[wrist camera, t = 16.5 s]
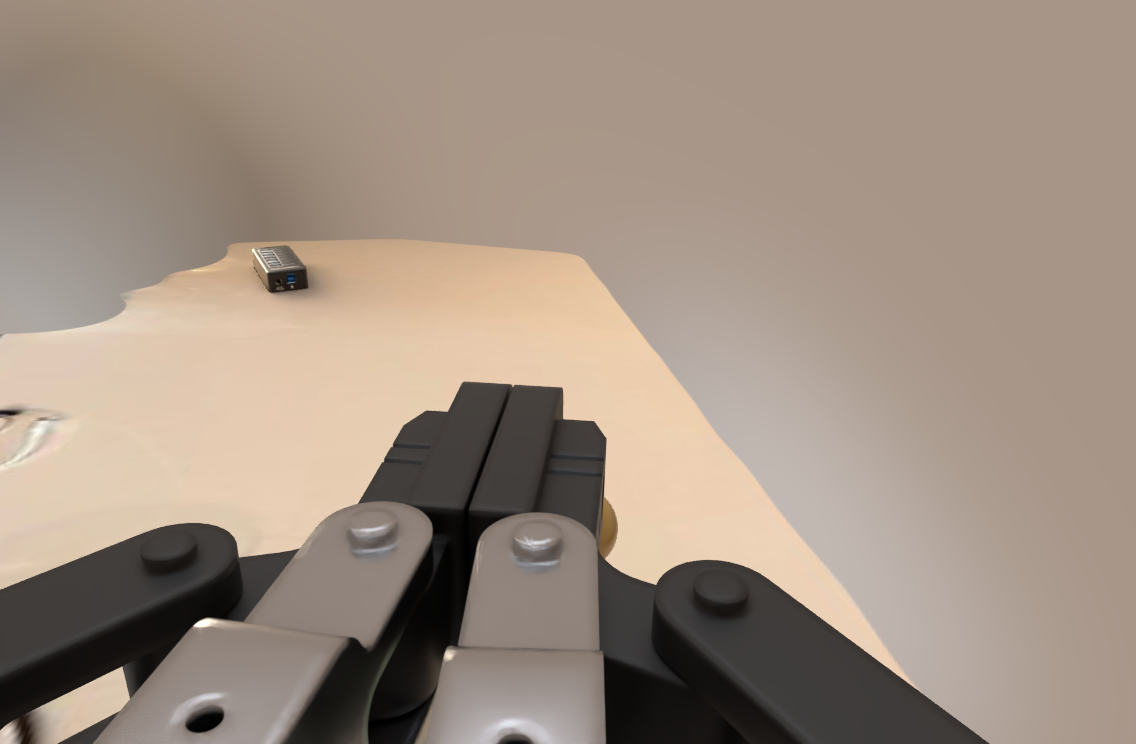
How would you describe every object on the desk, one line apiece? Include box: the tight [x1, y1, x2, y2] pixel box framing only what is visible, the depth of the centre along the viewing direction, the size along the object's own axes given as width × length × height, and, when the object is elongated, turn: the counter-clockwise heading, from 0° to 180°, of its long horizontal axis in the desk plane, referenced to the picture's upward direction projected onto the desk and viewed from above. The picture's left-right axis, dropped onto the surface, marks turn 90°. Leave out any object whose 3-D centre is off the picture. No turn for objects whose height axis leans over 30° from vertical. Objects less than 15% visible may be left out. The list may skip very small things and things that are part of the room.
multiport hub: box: [252, 246, 308, 292], centre depth 104 cm, size 4×11×2 cm, turn 27°
